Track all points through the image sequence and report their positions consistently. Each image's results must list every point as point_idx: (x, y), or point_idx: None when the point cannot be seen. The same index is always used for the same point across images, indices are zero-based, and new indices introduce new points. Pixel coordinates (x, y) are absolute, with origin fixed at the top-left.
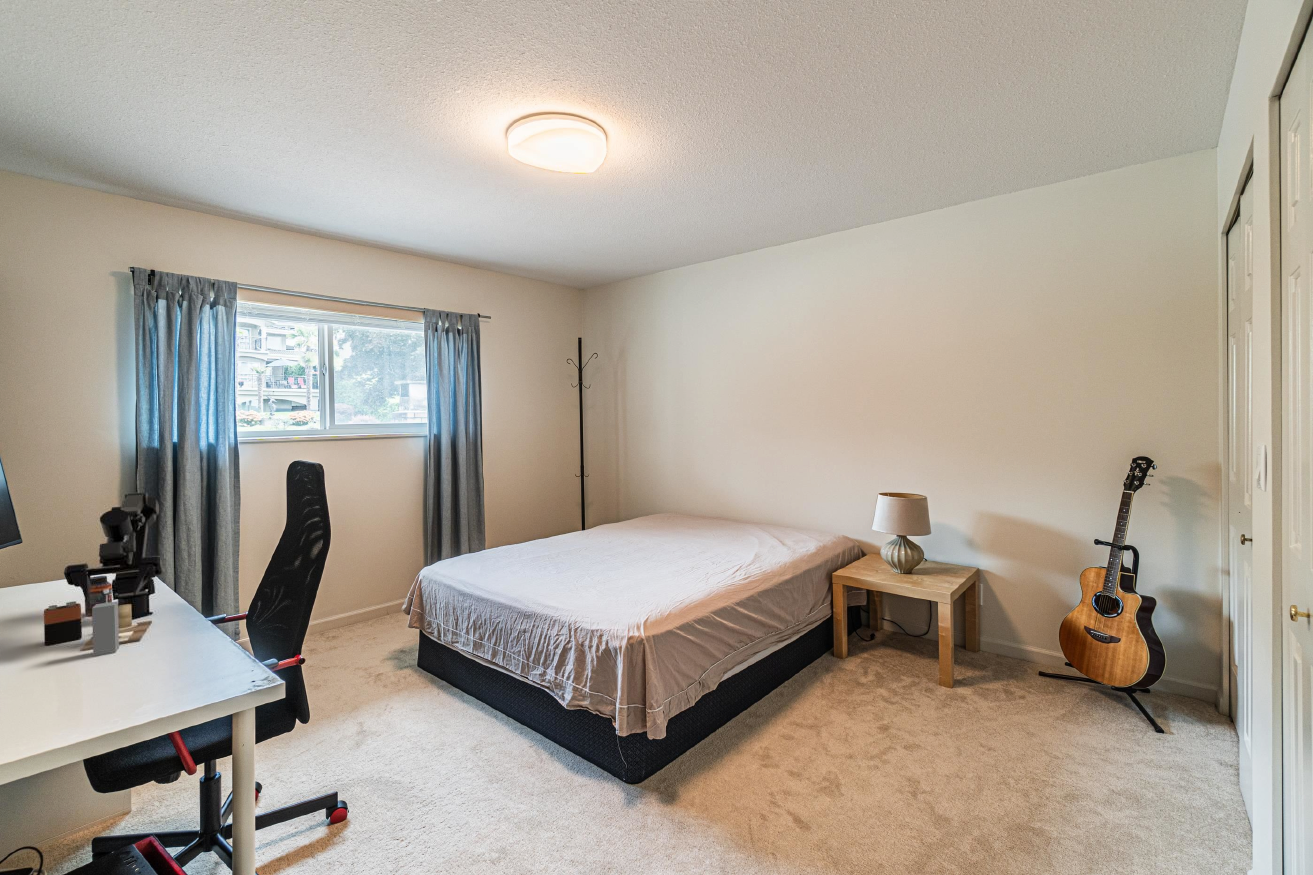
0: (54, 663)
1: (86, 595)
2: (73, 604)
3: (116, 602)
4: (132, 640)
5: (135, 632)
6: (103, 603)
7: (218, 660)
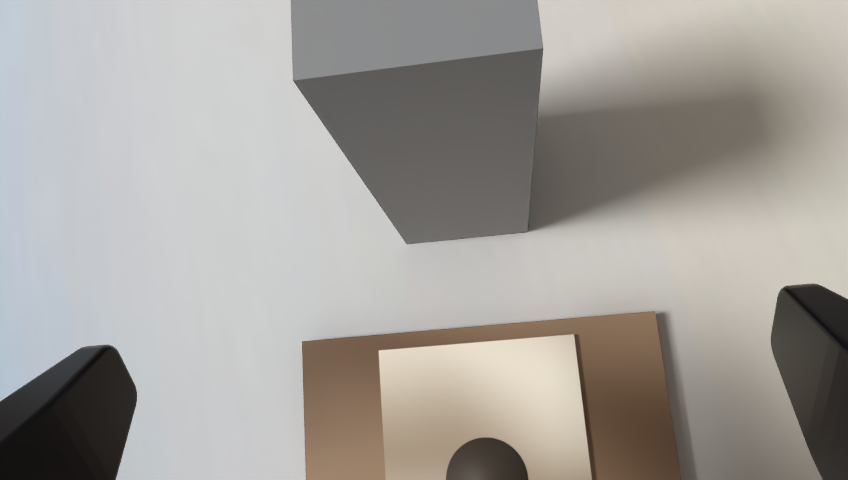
0: (715, 88)
1: (834, 312)
2: None
3: (295, 16)
4: (346, 340)
5: None
6: (454, 45)
7: None
